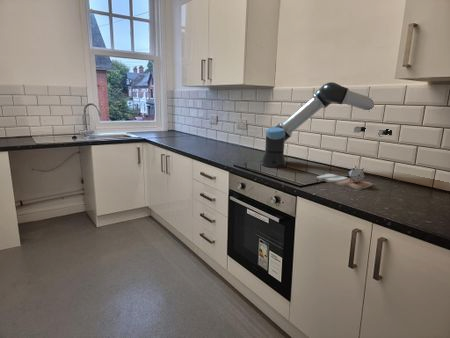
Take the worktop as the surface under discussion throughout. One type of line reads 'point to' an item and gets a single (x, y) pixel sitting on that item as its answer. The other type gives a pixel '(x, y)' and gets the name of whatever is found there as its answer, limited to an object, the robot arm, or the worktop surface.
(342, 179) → the game board
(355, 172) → the game die
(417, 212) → the worktop surface
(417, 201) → the worktop surface
